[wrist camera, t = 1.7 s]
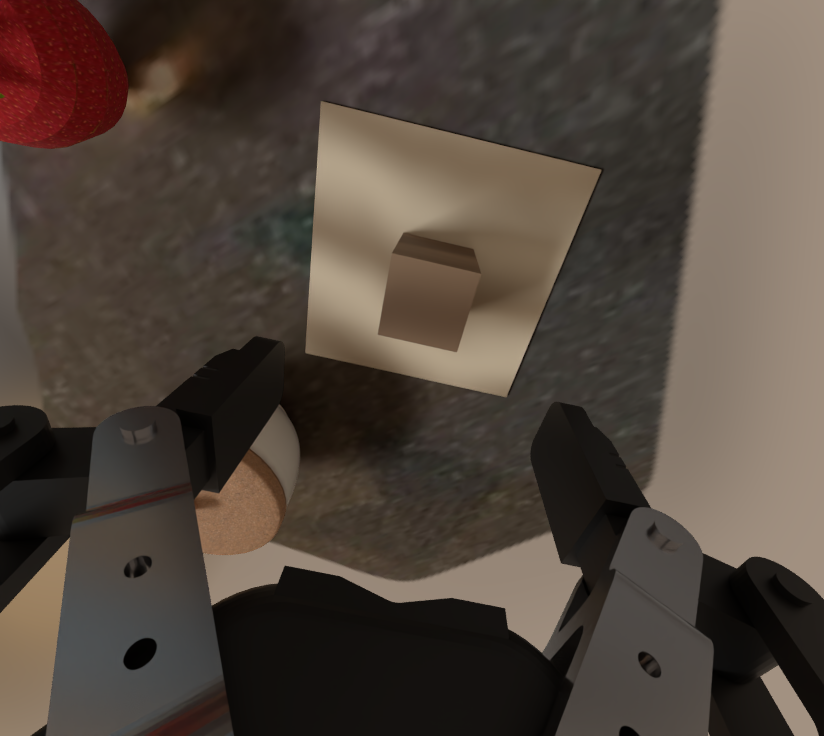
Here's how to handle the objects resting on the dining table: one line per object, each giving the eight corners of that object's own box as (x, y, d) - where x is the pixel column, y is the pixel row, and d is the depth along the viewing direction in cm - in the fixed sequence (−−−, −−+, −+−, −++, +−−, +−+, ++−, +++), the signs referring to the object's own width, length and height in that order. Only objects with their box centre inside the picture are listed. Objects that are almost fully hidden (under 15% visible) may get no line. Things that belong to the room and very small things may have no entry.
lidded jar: (341, 403, 26) (296, 511, 18) (291, 486, 32) (238, 600, 23) (199, 331, 24) (77, 418, 16) (169, 433, 29) (65, 538, 21)
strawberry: (202, 161, 19) (3, 166, 10) (60, 136, 19) (-257, 121, 10) (182, 10, 16) (-119, -157, 7) (13, -20, 16) (-486, -224, 7)
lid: (325, 103, 18) (280, 82, 13) (595, 169, 18) (651, 173, 13) (309, 347, 25) (275, 394, 20) (504, 390, 26) (519, 447, 21)
